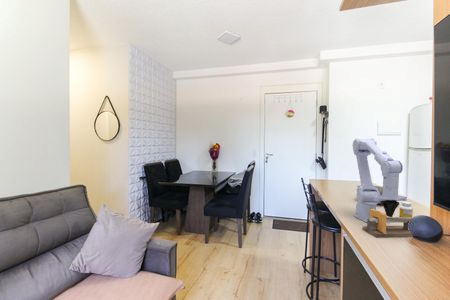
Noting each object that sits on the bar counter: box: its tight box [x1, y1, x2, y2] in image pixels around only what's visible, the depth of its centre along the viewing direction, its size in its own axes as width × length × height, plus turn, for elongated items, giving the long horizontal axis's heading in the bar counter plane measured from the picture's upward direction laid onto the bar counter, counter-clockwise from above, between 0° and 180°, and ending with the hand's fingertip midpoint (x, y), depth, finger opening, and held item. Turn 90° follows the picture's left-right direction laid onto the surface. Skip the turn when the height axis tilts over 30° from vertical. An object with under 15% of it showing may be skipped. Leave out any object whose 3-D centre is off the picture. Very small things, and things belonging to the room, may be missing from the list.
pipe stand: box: [361, 216, 413, 239], centre depth 103 cm, size 9×20×7 cm, turn 94°
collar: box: [370, 209, 388, 233], centre depth 102 cm, size 8×2×8 cm, turn 4°
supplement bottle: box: [398, 201, 414, 219], centre depth 119 cm, size 5×5×10 cm
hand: (389, 216), depth 102 cm, fingers closed
